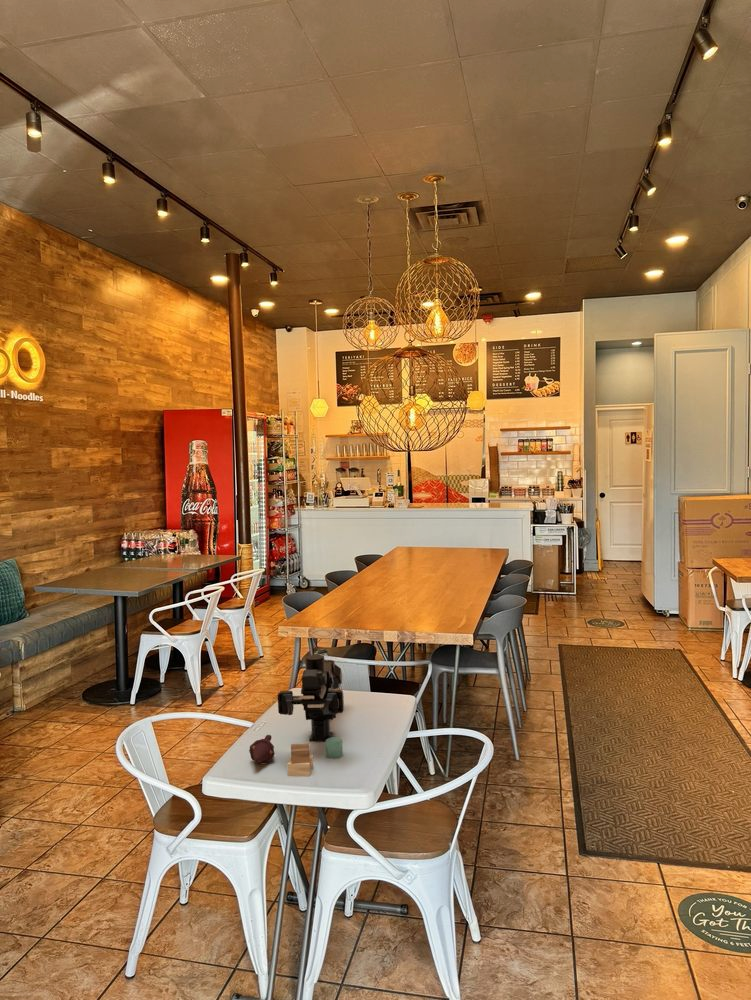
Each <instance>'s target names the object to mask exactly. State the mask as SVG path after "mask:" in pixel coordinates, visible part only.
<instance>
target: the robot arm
mask: <svg viewBox="0 0 751 1000" xmlns="http://www.w3.org/2000/svg"><path fill="white" fill-rule="evenodd" d="M304 661H305V665H304V666H305V670H302V674H301V684H302V685H301V690H300V695H294V694H293V690H281V691H280V690H279V692H278V693H277V709H278V710H277V711H278V714H280V715H283V716H284V715H287V716H292V715H294V708H295V707H294V705H302V706H303V711H304V714H305V721H309V720H310V722H311V723H310V724H311V725H310V726H311V734H310V735H309V739H308V741H313V742H314V741H315V742H317V741H319V742H320V741H322V742H324V741H325V742H326V739H328V738H331V737H333V732H334V731H331V723H330V722H331V721H332V720H333V719H336V718H337V716H336V715H337V714H342V713H343V712H344V710H345V702H344V700H345V699H344V691H343V690H342V689H339V688H340V687H341V684H343V673H342V669H341V667H340V666H338V665H337V664H336V662H335V660H333V659H326V660H325V655H322V654H320V653H313V654H310V655H306V656H304Z"/></svg>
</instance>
